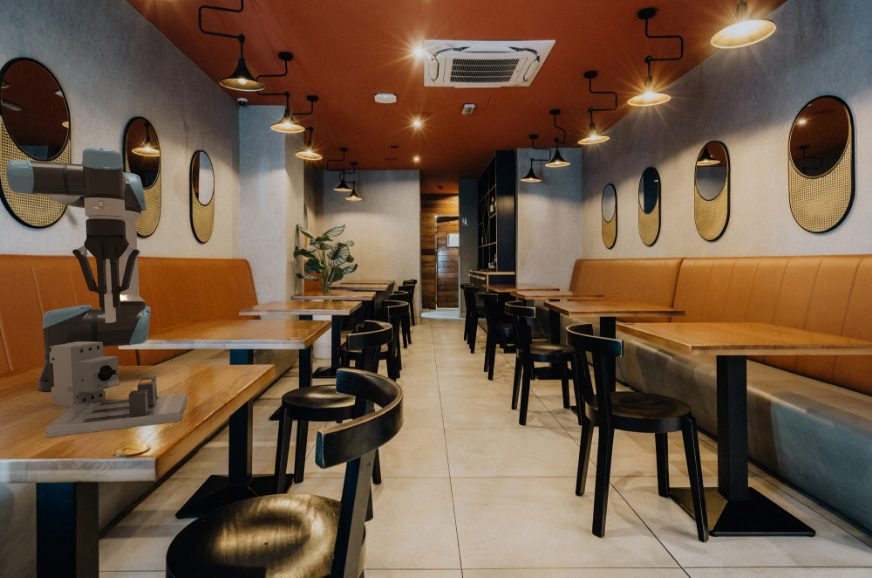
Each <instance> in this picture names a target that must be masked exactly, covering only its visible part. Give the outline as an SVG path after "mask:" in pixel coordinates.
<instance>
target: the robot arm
mask: <svg viewBox="0 0 872 578" xmlns="http://www.w3.org/2000/svg"><path fill="white" fill-rule="evenodd" d="M81 154H82V157H81V158H82V161H81V163H67V162H54V161H52V162H51V161H43V160H42V161H40V160H29V159H10V160H9V161H8V162H7V164H6V172H5V173H6V182H7V185H8V188H9V189H10V191H11V192H13V193H16V194H17V193H18V194H24V195H25V194H26V195H40V196H41V195H42V196H45V197H47V198H48V199H49V200H51V201H53V202H54V203H57V204H61V205H66V206H70V207H74V208H79V209H84V215H85V217H86V220H85V237H86V238H85V240H84V242H83V245H82V246H80V247H78V248H77V249H76V248H74V249H73V250H72V252H71V253H72V254H73V255H74V256H75V258H76V259H77V261H78V264H79V265H80V268H81V271H82V272H81V273H82V275H83V278H84V280H85V284H86V286H87V289H88V291H89V292H93V293H96V294H98V302H99V303H98V306H99V308H95V309H94V308H93V306H92V305H91V304H83V305H82V304H81V305H76V306H70V307H69V306H68V307H62V308H57V309H53V310H48V311H46V312H45V313H44V314H43V316H42V317H43V318H42V327H41V328H42V330H43V331H42V332H43V348H44V350H43V351H44V352H43V353H44V363H43V367H42V369H41V373H40V375H39V379H38V382H37V385H38V390H39V391H41V392H52V391H51V387H54V372H53V363H50V352H51V348H50V346H55V345H61V344H67V343H72V342H103V348H109V347H121V346H123V347H125V346H132V345H133V346H135V345H140V344H144V343H146V342H147V340H148V337H149V328H150V321H151V320H150V319H151V308H152V307H151V306H148V305H146V300H144V298H142V297H141V296H140V283H139V282H140V281H139V279H140V278H139V277H140V276H139V262H138V261H139V259H138V258H139V256H140V254H141V250H140V249H138V234H137V233H138V232H137V221H138V220H139V219H140V218H141V217H142V212H145V211H147V205H146V199H145V192H144V187H143V184H142V183H143V182H142V180H141V176H139V175H138V174H135V173H131V172H124V162H123V156H122V154H121V152H119V151H117V150H116V149H111V148H105V147H104V148H103V147H87V148H85V149H83V151H82V153H81ZM88 252H89V253H90V254H91V256H92V257H93V258H95V264H96V276H97V281H96V279H95V276H94V273H93V270H92V267H91V265H90V262H89V261H90V260H89V259H88V257H87V256H88ZM52 360H54V357H52Z"/></svg>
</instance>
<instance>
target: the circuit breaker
mask: <svg viewBox="0 0 872 578" xmlns="http://www.w3.org/2000/svg"><path fill="white" fill-rule="evenodd" d="M50 348H51V352H50V363H53V372H54V387H51V391H50V392H51V400H53V403H52V404H51V405H52V406H57V407H71V406H72V405H78V404H87V403H97V402H100V401H102V400H105V399H106V389H110V388H113V387H117V386H119V385H120V379H119V378H120V376H119V359H118V358H119V357H118V356H115V355H114V356H110V355H109V356H106V355H105V356H104V347H103V342H72V343H67V344H61V345H55V346H50ZM52 357H54V360H52Z"/></svg>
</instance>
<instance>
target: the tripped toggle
mask: <svg viewBox="0 0 872 578" xmlns="http://www.w3.org/2000/svg"><path fill="white" fill-rule="evenodd" d="M136 389H137V390H144V389H147V391H148V406H152V405H154V403H155V402H156V398H155V381H152V380H142V381H141V382H140V381H139V383H137V388H136Z"/></svg>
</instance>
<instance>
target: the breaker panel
mask: <svg viewBox="0 0 872 578" xmlns="http://www.w3.org/2000/svg"><path fill="white" fill-rule="evenodd" d="M142 380H152V381H155V398H156V402H155V403H154V405H152V406H148V391H147V389H144V390H131V391H130V392H129V393H128V398H127V399H125V398H124V399H118V400H107V401H96V402H93V403H87V404H78V405H72V406H69V408H67V409H66V410H65V411H64V412H63V413H61V414H60V415H59V416H57V418H55V419H54V420H53V421H52V422H50V424H48V425H47V426H46V427H45V438H54V437H60V436H61V437H62V436H69V435H77V434H78V435H79V434H86V433H94V432H103V431H109V430H110V431H111V430H116V429H117V430H118V429H126V428H135V427H141V426H142V427H144V426H150V425H157V424H159V425H160V424H167V423H174V422H180V421H181V418H182V416H183V413H184V410H185V407H186V404H187V402H188V401H187V400H188V399H187V392H184V393H183V392H182V393H175V394H174V393H173V394H166V395H164V394H163V395H158V388H157V387H158V383H157V376H148V377H146V376H145V377H141V378H140V380H139V383H140V382H141V381H142Z"/></svg>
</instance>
